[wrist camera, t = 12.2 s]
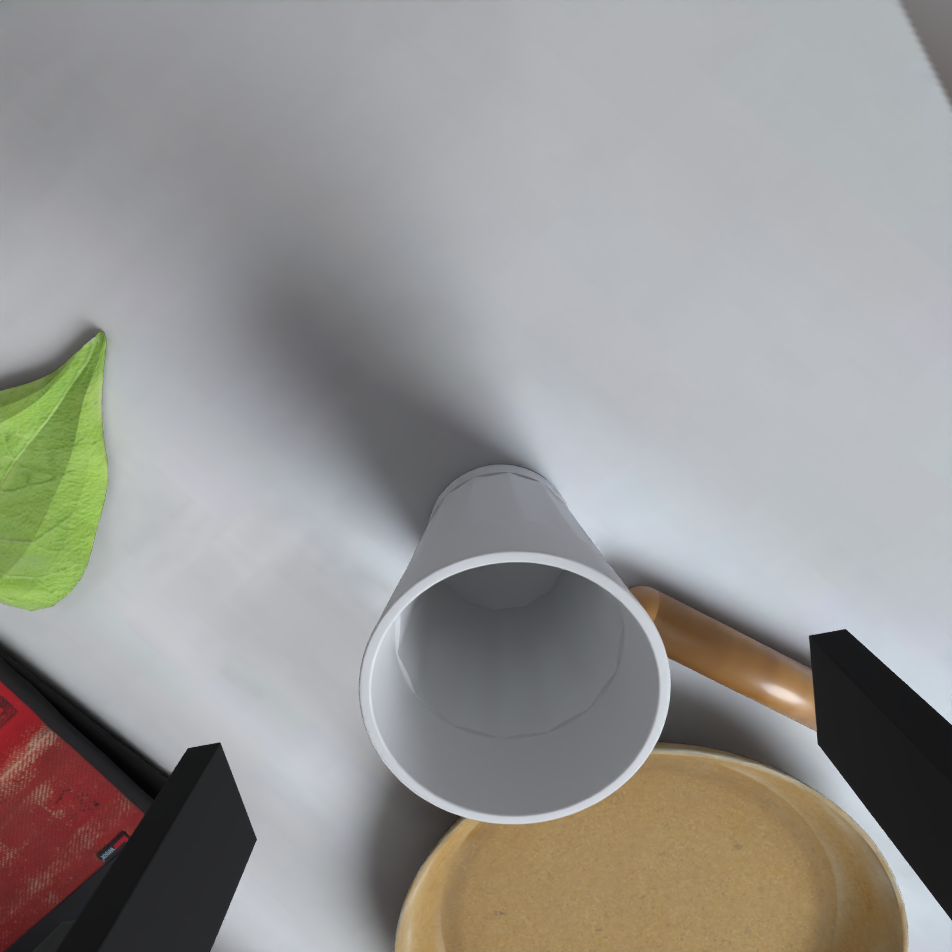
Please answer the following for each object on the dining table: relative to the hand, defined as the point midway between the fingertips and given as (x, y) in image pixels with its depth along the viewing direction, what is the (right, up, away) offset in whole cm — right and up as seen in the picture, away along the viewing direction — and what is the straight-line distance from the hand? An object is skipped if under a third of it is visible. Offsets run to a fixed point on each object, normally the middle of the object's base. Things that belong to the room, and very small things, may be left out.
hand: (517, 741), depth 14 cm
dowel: (+12, -2, +15) cm, 19 cm away
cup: (0, +3, +14) cm, 14 cm away
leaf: (-20, +5, +14) cm, 25 cm away
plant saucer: (+7, -17, +19) cm, 26 cm away
